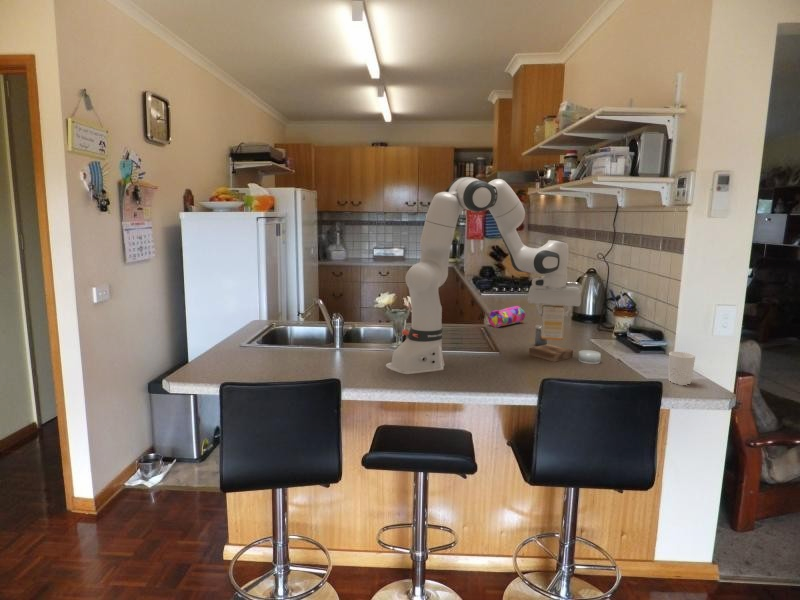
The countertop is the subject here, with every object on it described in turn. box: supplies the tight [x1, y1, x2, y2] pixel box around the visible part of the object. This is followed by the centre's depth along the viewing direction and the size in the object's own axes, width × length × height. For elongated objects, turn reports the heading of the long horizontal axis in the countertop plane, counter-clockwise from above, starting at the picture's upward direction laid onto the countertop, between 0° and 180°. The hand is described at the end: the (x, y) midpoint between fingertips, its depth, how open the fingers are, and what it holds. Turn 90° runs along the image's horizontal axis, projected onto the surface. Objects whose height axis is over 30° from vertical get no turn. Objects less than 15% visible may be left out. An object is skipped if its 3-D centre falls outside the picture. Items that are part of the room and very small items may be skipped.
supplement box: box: [540, 304, 566, 341], centre depth 208 cm, size 8×5×13 cm, turn 80°
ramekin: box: [578, 349, 602, 365], centre depth 204 cm, size 8×8×4 cm
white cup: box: [667, 350, 696, 385], centre depth 179 cm, size 8×8×10 cm
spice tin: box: [534, 324, 548, 347], centre depth 225 cm, size 5×5×9 cm
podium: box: [528, 343, 574, 363], centre depth 210 cm, size 12×12×3 cm
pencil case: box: [488, 305, 526, 328], centre depth 269 cm, size 22×9×9 cm, turn 135°
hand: (552, 315), depth 207 cm, fingers closed on supplement box, 8 cm apart
